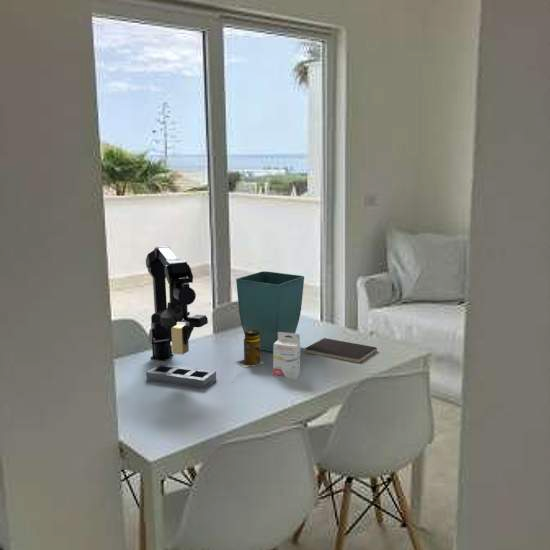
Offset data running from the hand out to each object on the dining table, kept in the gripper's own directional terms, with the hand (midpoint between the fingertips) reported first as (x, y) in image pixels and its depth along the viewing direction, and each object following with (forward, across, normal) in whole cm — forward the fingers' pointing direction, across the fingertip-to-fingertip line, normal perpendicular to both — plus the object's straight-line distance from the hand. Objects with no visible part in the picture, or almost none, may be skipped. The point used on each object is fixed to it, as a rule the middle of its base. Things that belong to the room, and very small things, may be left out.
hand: (180, 343), depth 199 cm
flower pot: (+13, +15, +45) cm, 49 cm away
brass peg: (+3, 0, 0) cm, 3 cm away
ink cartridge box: (+13, +32, +17) cm, 38 cm away
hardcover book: (+14, +43, +48) cm, 66 cm away
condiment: (+13, +15, +24) cm, 31 cm away
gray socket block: (+13, 0, 0) cm, 13 cm away
